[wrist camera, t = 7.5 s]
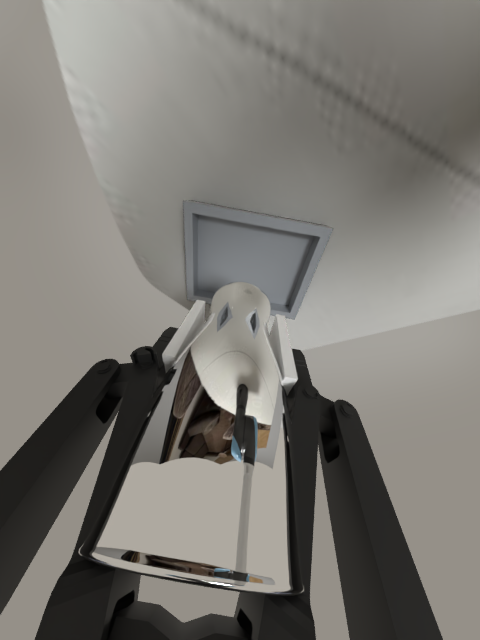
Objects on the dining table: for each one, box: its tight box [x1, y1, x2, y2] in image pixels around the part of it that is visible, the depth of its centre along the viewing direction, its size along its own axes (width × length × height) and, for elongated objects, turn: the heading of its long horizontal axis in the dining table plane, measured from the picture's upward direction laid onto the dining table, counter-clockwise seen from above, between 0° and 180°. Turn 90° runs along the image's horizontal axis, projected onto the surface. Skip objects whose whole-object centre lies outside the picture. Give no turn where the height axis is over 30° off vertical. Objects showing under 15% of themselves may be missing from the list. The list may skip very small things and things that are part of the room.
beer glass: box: [78, 281, 305, 596], centre depth 11 cm, size 7×7×15 cm
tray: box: [183, 201, 333, 320], centre depth 28 cm, size 20×15×4 cm
